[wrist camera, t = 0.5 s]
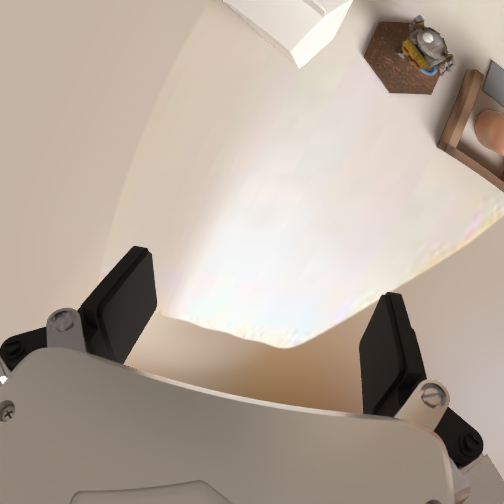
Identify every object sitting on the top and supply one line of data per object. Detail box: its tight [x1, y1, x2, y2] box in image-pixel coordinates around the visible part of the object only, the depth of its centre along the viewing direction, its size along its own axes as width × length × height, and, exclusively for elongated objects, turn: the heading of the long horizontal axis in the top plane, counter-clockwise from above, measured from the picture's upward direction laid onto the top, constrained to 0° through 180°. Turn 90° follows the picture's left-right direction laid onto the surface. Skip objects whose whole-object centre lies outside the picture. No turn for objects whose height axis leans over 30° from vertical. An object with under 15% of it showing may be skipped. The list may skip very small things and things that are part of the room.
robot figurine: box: [364, 15, 455, 95], centre depth 23 cm, size 11×9×12 cm
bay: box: [437, 70, 504, 192], centre depth 28 cm, size 12×13×3 cm
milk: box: [222, 0, 353, 69], centre depth 20 cm, size 6×6×22 cm
